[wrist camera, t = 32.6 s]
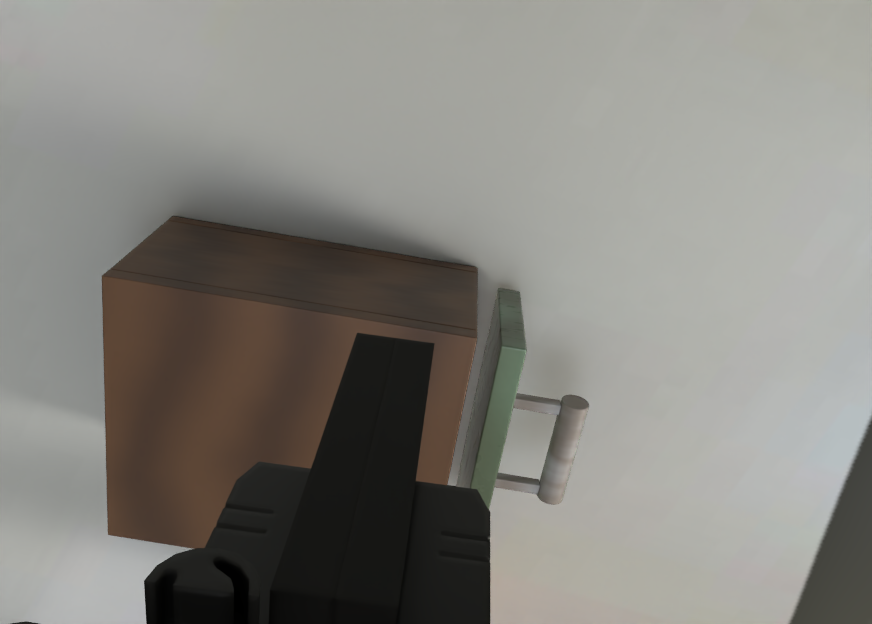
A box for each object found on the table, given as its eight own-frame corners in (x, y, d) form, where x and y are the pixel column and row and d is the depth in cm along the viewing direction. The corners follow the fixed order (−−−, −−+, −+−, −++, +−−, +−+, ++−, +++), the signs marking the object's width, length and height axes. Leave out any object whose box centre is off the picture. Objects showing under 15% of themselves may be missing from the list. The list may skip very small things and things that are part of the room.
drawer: (595, 303, 42) (615, 364, 35) (541, 502, 47) (551, 584, 41) (231, 242, 41) (187, 293, 35) (220, 450, 47) (181, 525, 41)
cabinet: (477, 266, 42) (477, 338, 34) (435, 483, 48) (426, 586, 40) (172, 215, 42) (101, 275, 34) (168, 440, 48) (107, 535, 40)
